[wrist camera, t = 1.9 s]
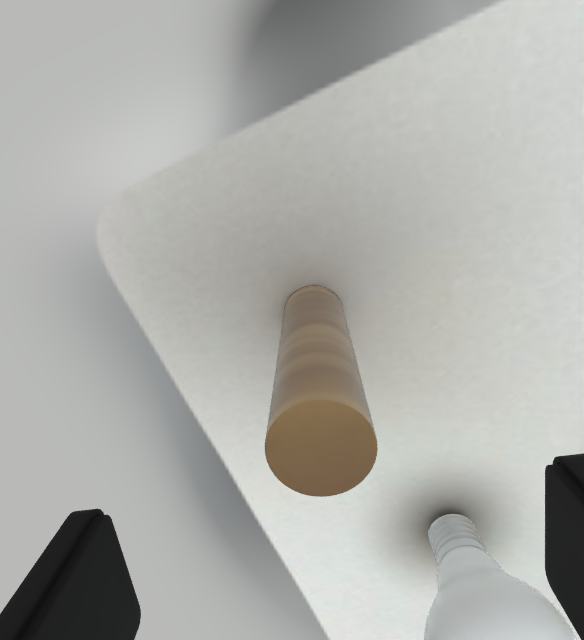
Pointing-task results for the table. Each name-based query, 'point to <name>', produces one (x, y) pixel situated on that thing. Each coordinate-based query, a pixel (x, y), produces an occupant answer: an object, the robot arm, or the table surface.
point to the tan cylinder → (318, 401)
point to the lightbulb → (483, 593)
